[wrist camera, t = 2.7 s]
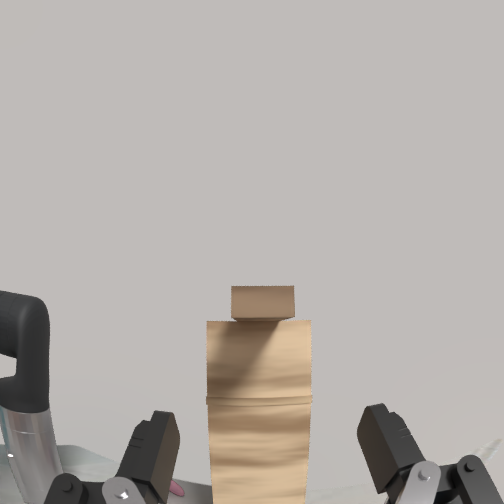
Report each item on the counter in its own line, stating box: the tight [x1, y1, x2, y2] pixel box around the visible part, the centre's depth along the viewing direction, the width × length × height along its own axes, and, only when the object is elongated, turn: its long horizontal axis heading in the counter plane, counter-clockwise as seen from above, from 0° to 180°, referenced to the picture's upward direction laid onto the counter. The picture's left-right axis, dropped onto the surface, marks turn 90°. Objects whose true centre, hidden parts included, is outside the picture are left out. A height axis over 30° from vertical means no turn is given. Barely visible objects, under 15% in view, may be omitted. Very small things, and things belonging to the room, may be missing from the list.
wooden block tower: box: [206, 320, 312, 504], centre depth 26 cm, size 10×10×32 cm
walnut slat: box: [231, 286, 295, 321], centre depth 28 cm, size 22×4×2 cm, turn 0°
